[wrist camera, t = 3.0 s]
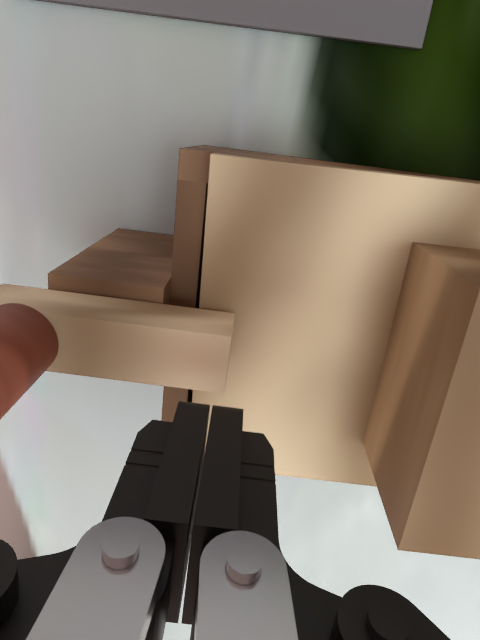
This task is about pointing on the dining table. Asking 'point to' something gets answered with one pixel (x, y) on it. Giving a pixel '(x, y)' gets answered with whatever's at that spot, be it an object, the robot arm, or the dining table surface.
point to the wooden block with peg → (108, 341)
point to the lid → (355, 332)
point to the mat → (296, 16)
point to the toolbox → (164, 250)
